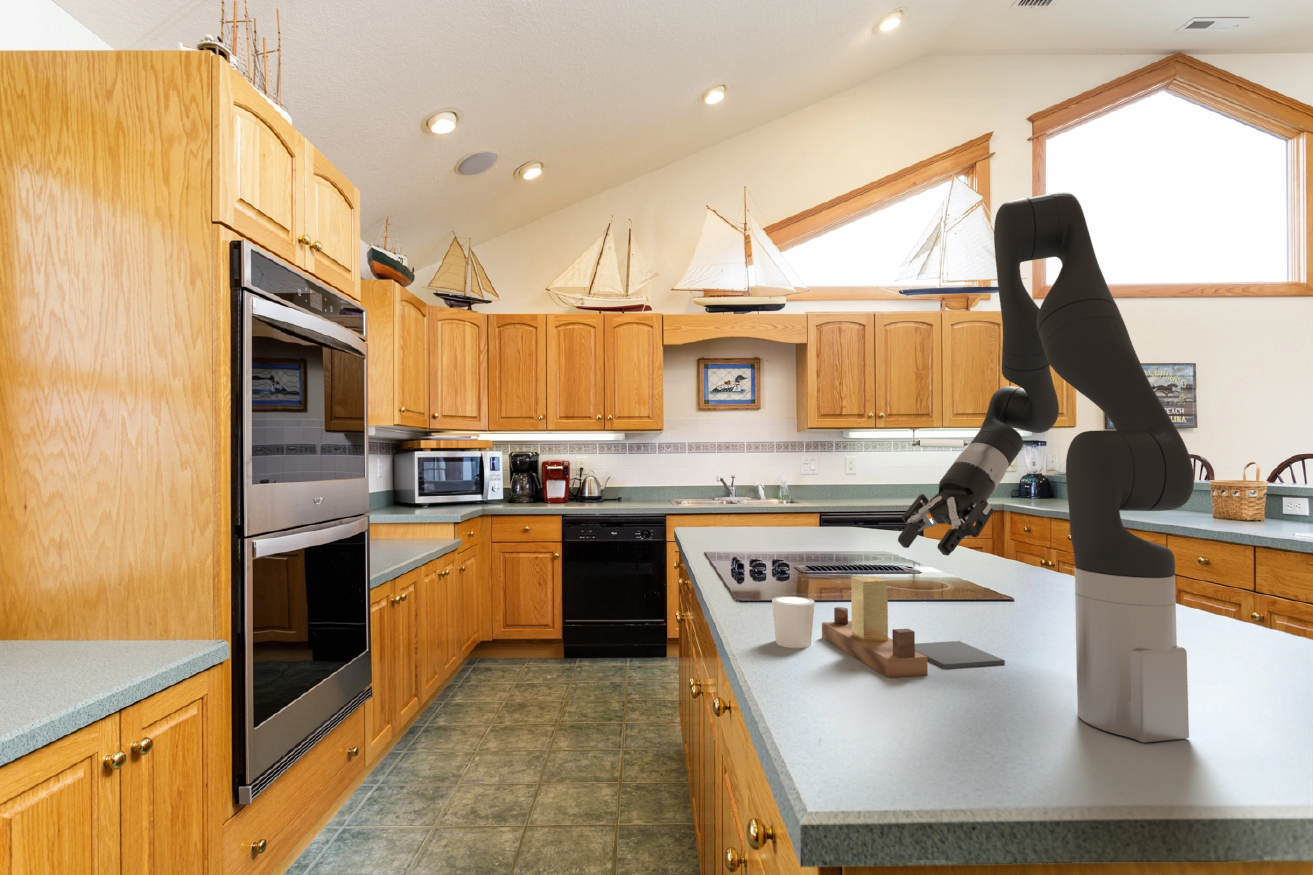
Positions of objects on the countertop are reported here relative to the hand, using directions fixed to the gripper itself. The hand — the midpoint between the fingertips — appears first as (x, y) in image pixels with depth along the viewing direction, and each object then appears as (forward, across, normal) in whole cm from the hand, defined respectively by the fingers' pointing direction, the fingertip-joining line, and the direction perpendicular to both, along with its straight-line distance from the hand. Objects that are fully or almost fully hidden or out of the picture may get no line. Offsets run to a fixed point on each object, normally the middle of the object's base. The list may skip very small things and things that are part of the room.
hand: (921, 548), depth 101 cm
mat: (+10, +5, +12) cm, 17 cm away
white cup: (+24, -9, -1) cm, 26 cm away
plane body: (+18, 0, +4) cm, 19 cm away
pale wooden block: (+17, 0, +2) cm, 17 cm away
